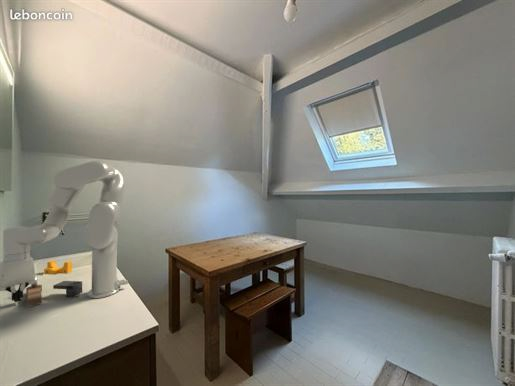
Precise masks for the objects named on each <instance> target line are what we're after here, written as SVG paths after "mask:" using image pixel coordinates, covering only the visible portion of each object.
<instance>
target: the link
mask: <svg viewBox="0 0 515 386" xmlns="http://www.w3.org/2000/svg"><path fill="white" fill-rule="evenodd" d="M25 289H26V290H25V291H26V292H25V293H26V295H27V308H29V307H33V306H38V305H41V304H42V303H43V301H42V299H43V298H42V297H43V296H42V291H43V285H42V284H37V286H36V287H31V285H29V286H27V287H26V288H25Z"/></svg>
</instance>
